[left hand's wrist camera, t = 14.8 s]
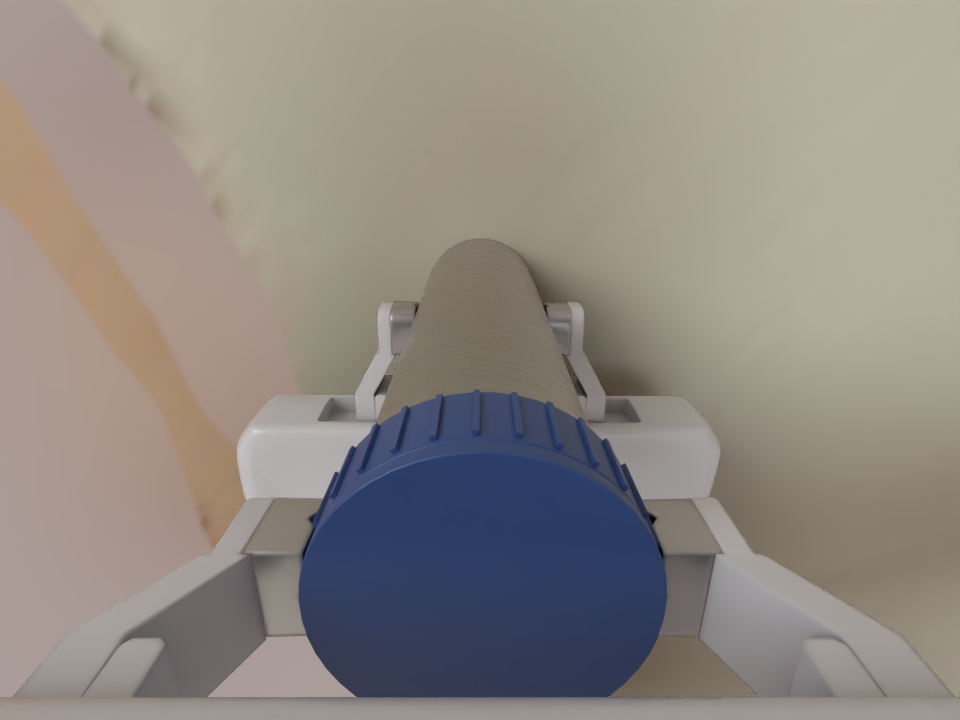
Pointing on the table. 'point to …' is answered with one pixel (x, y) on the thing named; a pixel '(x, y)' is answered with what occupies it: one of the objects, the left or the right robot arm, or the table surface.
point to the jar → (480, 335)
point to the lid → (482, 557)
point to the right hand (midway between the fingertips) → (479, 304)
